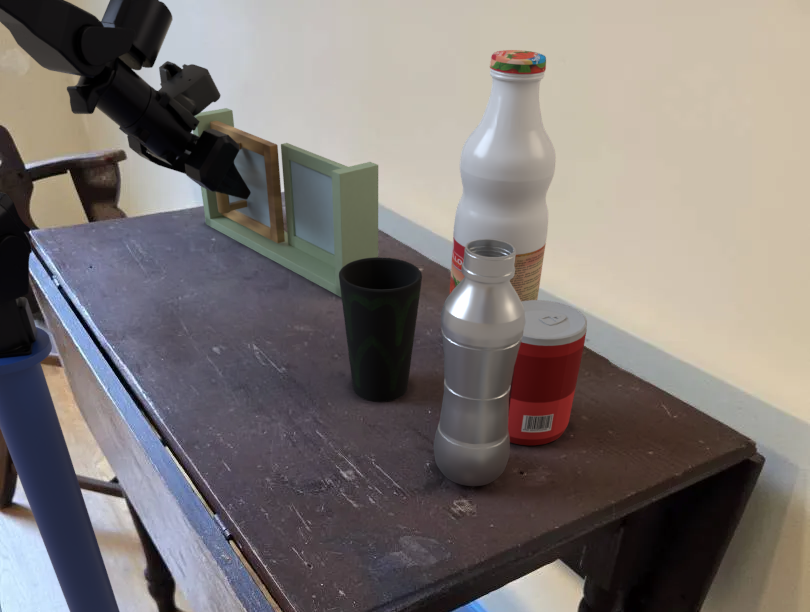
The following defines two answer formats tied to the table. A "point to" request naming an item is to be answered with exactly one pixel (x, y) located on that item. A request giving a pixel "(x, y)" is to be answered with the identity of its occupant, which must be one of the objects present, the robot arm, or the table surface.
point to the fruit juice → (508, 172)
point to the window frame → (310, 213)
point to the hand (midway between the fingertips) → (228, 186)
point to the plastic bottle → (479, 365)
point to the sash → (255, 185)
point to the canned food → (545, 372)
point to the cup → (380, 324)
